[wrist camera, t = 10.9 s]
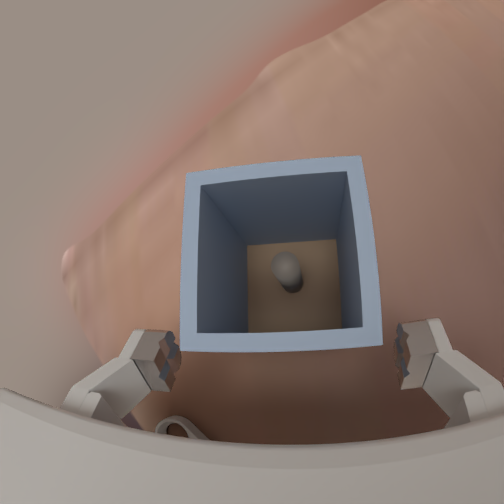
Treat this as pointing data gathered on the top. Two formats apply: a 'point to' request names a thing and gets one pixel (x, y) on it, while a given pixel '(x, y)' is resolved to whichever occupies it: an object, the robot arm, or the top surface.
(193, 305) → the collar
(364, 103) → the top surface
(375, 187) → the top surface
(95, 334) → the top surface
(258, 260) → the post stand
